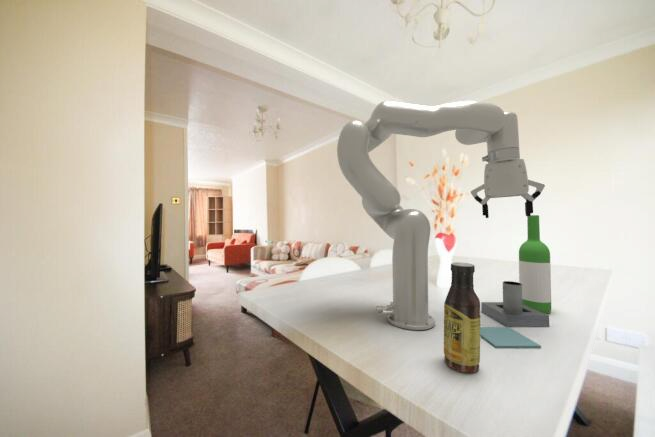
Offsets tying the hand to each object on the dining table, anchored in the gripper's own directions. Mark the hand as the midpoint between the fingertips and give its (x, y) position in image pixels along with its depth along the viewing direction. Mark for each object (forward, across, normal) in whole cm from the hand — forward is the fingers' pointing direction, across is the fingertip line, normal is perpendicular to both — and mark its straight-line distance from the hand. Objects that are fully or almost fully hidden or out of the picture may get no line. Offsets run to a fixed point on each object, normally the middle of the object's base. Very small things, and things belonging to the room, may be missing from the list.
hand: (506, 217), depth 72 cm
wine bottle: (+30, +7, +13) cm, 33 cm away
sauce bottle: (+28, -11, -33) cm, 45 cm away
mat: (+29, -3, -15) cm, 33 cm away
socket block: (+29, 0, +1) cm, 29 cm away
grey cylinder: (+30, 0, +1) cm, 30 cm away
